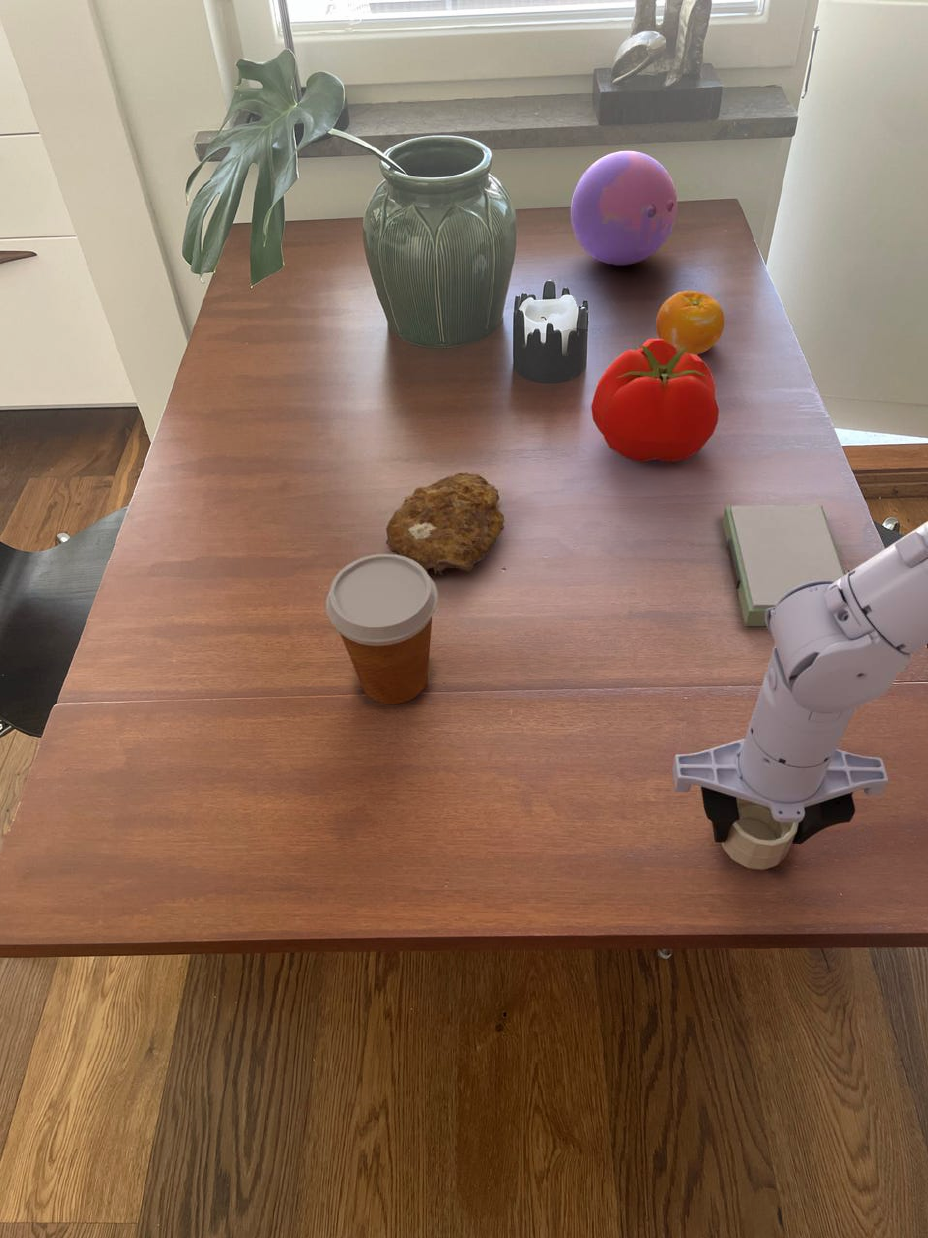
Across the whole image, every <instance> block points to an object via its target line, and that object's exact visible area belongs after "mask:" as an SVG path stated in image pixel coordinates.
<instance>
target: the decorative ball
mask: <svg viewBox="0 0 928 1238" xmlns="http://www.w3.org/2000/svg"><path fill="white" fill-rule="evenodd" d="M677 211H678V197H677V191H676V188H675V183H674V180H673V179H672V177H671V176H670V174H669V171H667V170H666V168H665V167H664V166H663V165H662V164H661V163H660V162H659V161H657V159H655V158H654V157H651V156H650V155H648V154H645V153H643V152H639V151H634V150H622V151H617V152H612V153H609V154H607V155H605V156H603V157H601V158H599V159H598V160H597V161H595V162H594V163H592V164H591V165H590V166H589V167H588V168H587V170H586V171H585V172H584V173H583V174H582V176H581V177H580V178H579V181H578V182H577V184H576V186H575V189H574V192H573V195H572V199H571V205H570V219H571V220H570V221H571V226H572V229H573V232H574V234H575V235H574V236H575V237H576V239H577V241H578V243H579V244H580V246H581V247H582V248H583V249H584V251H586V253H587V254H589V255H590V256H591V257H592V258H593V259H595V260H597V261H599V262H601V263H604V264H607V265H611V264H613V265H612V266H630V265H635V264H637V263H640V262H642V261H644V260H646V259H648V258H649V257H651V256H652V255H654V254H655V253H657V251H658V250H659V249H660V248H661V247H662V246H663V245H664V244H665V243H666V241H667V239H668V238H669V237H670V235H671V233H672V232H673V230H674V227H675V224H676V220H677V213H678V212H677ZM629 264H630V265H629Z"/></svg>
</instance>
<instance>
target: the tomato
mask: <svg viewBox="0 0 928 1238" xmlns="http://www.w3.org/2000/svg"><path fill="white" fill-rule="evenodd" d="M635 344H636V346H637V347H639V348H638V349H637V350H633V349H627V350H625V351H624V352H622V353H621V354H620V355H619V356H618V357H616V358H615V359H614V361H612V363H611V364H610V365H609V366H608V367H607V368H606V370H605V371H604V372H603V374H602V376H601V377H600V378H599V380H598V381H597V385H596V388H595V391H594V395H593V398H592V402H591V406H590V409H591V415H592V420H593V422H594V424H595V426H596V427H597V429H598V431H599V432H600V434H601V435H602V436H603V438H604V440H605V442H606V444H607V447H609V449H611V450H612V451H614V452H616V453H617V454H619V455H621V456H622V457H624V458H625V459H628V460H632V461H635V462H638V463H641V462H642V463H643V462H647V461H650V460H657V461H658V460H659V461H662V462H665V463H671V462H679V461H683V460H685V459H688V458H690V457H692V456H693V455H695V454H696V453H699V451H700V450H702V448H703V447H704V446H705V445H706V444H707V442H708V441H709V440H710V439H711V438H712V436H713V435H714V434H715V430H716V428H717V425H718V422H719V414H720V409H719V405H718V400H717V397H716V385H715V381H714V377H713V373H712V371H711V370H710V369H709V367H708V365H707V364H706V363H705V362H704V360H703V359H701V357H700V356H699V354H696V355H695V354H690V353H688V354H683V352H684V351H686V350H687V349H688V348H689V347H687V348H685V349H683V350H680V351H679V352H677V350H676V348H675V347H673V346H672V345H670V344H669V343H667V342H666V341H665V340H663V339H659V338H648V339H647V340H646V341H645V342H644V343H642V344H639V343H637V342H635Z"/></svg>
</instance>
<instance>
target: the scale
mask: <svg viewBox="0 0 928 1238" xmlns="http://www.w3.org/2000/svg"><path fill="white" fill-rule="evenodd" d="M721 523H722V527H723V531H724V536H725V541H726V550H727V555H728V558H729V563H730V568H731V573H732V577H733V581H734V587H735V590H736V592H737V594H738V600H739V604H740V608H741V612H742V613H741V614H742V618H743V622H744V626H745V627H767V625H766V622H765V612H766V610H767V609H768V608H772V607H775V606H776V605H777V604H778V602H779V600H780V599H781V598H782V597H783V596H784V595H785V594H786V593H787V592H789V591H790V590H792V589H793V588H795V587H797V586H799V585H802V584H804V583H807V582H811V581H817V580H833V581H837V580H838V579H840V578H841V577H843V576H844V575H846V573H845V570H844V567H843V564H842V560H841V557H840V555H839V551H838V549H837V546H836V543H835V540H834V537H833V534H832V531H831V528H830V525H829V522H828V519H827V516H826V513H825V510H824V506H823V505H821V504H776V505H775V504H774V505H773V504H771V505H769V504H765V505H764V504H763V505H761V504H760V505H759V504H758V505H757V504H756V505H751V504H750V505H726V506H725V507H724V511H723V516H722V521H721Z"/></svg>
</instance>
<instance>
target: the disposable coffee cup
mask: <svg viewBox="0 0 928 1238" xmlns="http://www.w3.org/2000/svg"><path fill="white" fill-rule="evenodd" d="M325 600H326V601H325V609H326V615H327V617H328V620H329V621H330V623H331V625H332V626H333V627H334V628H335V629H336V630H337V631H338V632H339V634H340V638H341V640H342V642H343V644H344V646H345V649H346V651H347V653H348V656H349V660H350V661H351V664H352V666H353V668H354V671H355V673H356V676H357V677H358V680H359V683H360V685H361V688H362V689H363V691H364V693H365V694H366V696H367V697H369V698H370V699H372V701H376V702H378V703H381V704H384V705H385V704H386V705H399V704H403V703H406V702H408V701H411V700H413V699H415V698H416V697H418V696H419V695H420V694H421V693H422V691H423V690H424V689H425V688H426V685H427V684H428V679H429V667H430V656H431V655H430V652H431V640H432V627H433V626H432V625H433V616H434V614H435V612H436V610H437V606H438V600H439V596H438V589H437V586H436V583H435V582H434V580H433V579H432V577H431V576H430V575H429V573H428V574H427V572H426V571H425V570H424V568H423V567H422V566H421V565H419V564H418V563H417V562H415V561H414V560H412V559H409V558H407V557H404V556H400V555H397V554H392V553H377V554H371V555H366V556H363V557H360V558H358V559H356V560H354V561H352V562H350V563H348V564H347V565H345V566H344V567H343V568H342V569H340V570H339V571H338V573H337V574H336V575H335V577H334V578H333V580H332V581H331V584H330V589H329V591H328V594H327V596H326V599H325Z"/></svg>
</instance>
